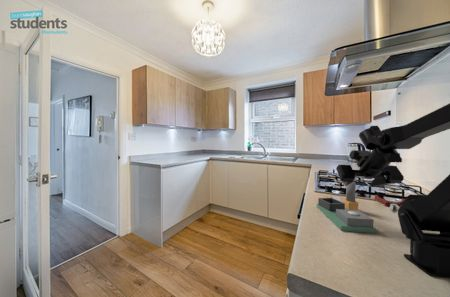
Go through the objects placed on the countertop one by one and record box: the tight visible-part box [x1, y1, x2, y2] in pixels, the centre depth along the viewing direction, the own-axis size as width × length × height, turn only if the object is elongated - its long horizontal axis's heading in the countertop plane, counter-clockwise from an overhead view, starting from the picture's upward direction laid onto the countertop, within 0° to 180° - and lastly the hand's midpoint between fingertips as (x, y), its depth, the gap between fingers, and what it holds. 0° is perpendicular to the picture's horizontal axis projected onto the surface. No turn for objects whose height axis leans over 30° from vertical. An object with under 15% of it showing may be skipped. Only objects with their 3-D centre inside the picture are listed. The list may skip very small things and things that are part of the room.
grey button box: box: [336, 209, 375, 227], centre depth 58 cm, size 8×8×3 cm
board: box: [316, 203, 377, 234], centre depth 64 cm, size 21×10×2 cm, turn 171°
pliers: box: [374, 194, 406, 212], centre depth 76 cm, size 12×20×3 cm, turn 142°
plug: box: [342, 181, 359, 210], centre depth 71 cm, size 4×4×12 cm
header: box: [317, 197, 345, 211], centre depth 70 cm, size 7×6×3 cm
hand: (358, 185), depth 66 cm, fingers open, 9 cm apart
